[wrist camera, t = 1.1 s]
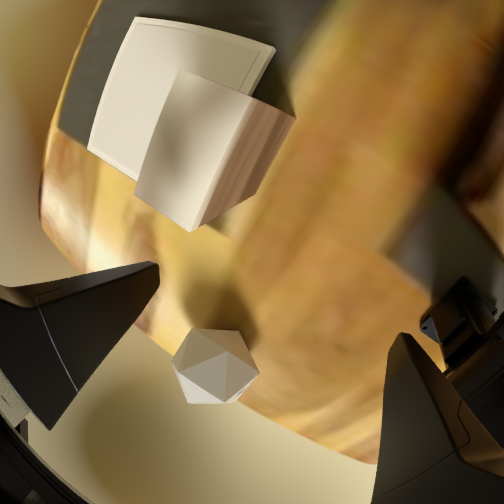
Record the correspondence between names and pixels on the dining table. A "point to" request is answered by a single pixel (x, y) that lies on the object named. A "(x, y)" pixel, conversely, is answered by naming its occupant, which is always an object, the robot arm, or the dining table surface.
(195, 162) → the walnut block
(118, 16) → the dining table surface
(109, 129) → the shallow cream tray
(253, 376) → the die
